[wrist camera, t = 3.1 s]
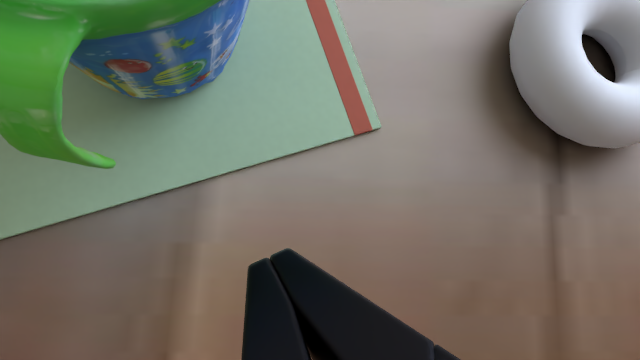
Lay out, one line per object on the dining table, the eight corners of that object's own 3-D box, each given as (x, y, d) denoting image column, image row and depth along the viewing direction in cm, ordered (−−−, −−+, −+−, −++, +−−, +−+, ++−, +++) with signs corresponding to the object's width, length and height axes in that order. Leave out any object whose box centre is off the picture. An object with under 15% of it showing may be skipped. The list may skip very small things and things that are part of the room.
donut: (502, -26, 24) (488, 132, 22) (543, -72, 21) (532, 107, 19) (648, 20, 26) (650, 173, 23) (708, -17, 22) (718, 157, 20)
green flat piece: (380, 128, 21) (381, 127, 21) (-196, 297, 15) (-202, 297, 15) (298, -92, 23) (299, -96, 22) (-250, -10, 17) (-256, -13, 17)
